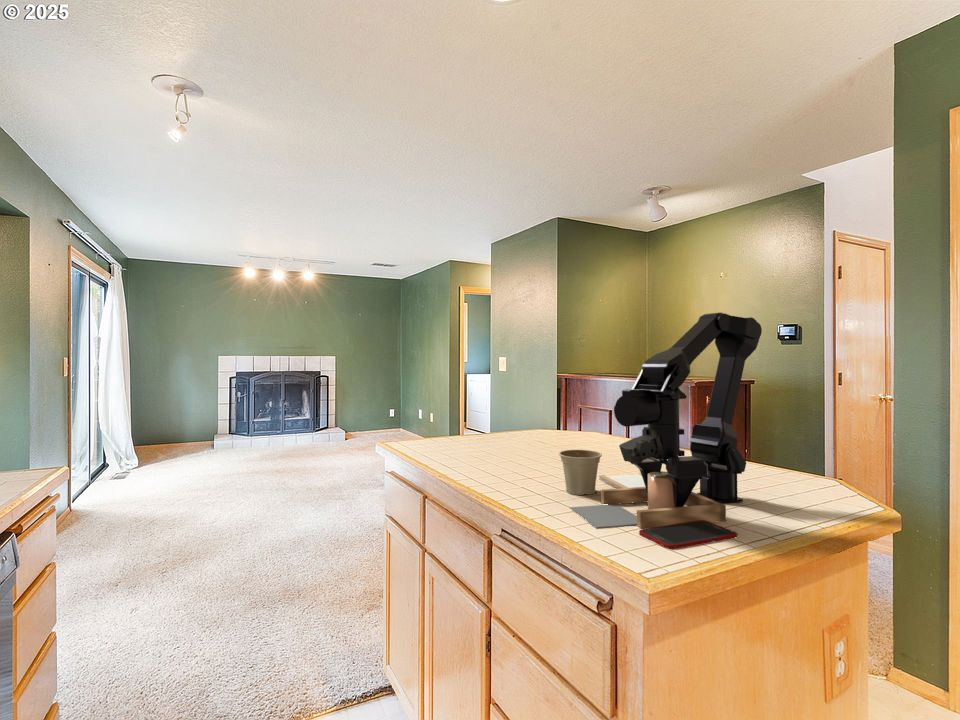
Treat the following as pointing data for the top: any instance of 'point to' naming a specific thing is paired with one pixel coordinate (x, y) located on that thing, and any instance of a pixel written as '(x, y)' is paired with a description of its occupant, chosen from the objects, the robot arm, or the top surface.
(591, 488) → the flower pot
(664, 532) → the cell phone
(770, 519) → the top surface
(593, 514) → the mat
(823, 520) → the top surface
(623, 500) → the wooden u-shaped frame
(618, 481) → the wood framed whiteboard
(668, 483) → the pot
